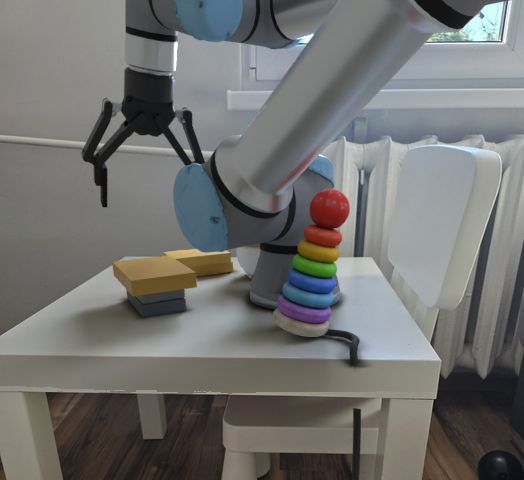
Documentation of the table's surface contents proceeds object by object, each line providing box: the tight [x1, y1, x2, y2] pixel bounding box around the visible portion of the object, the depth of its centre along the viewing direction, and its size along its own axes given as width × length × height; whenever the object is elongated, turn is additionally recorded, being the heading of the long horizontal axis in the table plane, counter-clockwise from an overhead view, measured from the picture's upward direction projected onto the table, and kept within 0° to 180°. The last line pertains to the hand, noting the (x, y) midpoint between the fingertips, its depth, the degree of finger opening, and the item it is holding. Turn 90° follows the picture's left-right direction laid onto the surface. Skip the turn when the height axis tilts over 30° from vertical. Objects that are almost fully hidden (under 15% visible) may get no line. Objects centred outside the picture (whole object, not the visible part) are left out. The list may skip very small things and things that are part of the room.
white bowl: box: [235, 243, 260, 279], centre depth 97 cm, size 11×11×9 cm
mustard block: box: [111, 255, 198, 296], centre depth 81 cm, size 14×10×2 cm
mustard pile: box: [162, 248, 234, 277], centre depth 102 cm, size 13×8×4 cm, turn 117°
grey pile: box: [125, 288, 187, 318], centre depth 82 cm, size 11×7×4 cm, turn 27°
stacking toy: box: [272, 188, 351, 338], centre depth 65 cm, size 8×8×19 cm
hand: (144, 206), depth 87 cm, fingers open, 13 cm apart
